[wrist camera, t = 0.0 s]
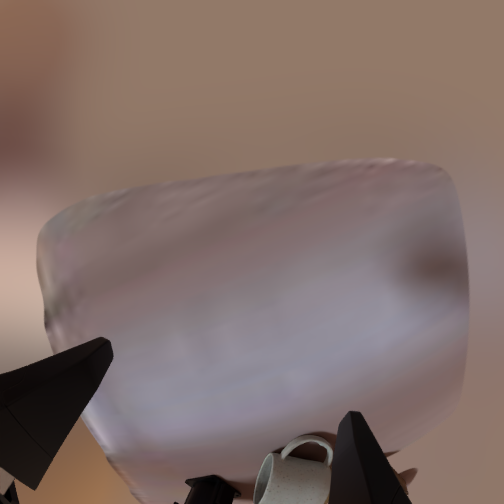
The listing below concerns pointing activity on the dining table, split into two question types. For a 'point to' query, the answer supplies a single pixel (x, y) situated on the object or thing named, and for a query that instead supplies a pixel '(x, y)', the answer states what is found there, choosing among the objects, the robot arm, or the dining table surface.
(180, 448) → the dining table surface
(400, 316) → the dining table surface
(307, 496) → the ceramic mug
